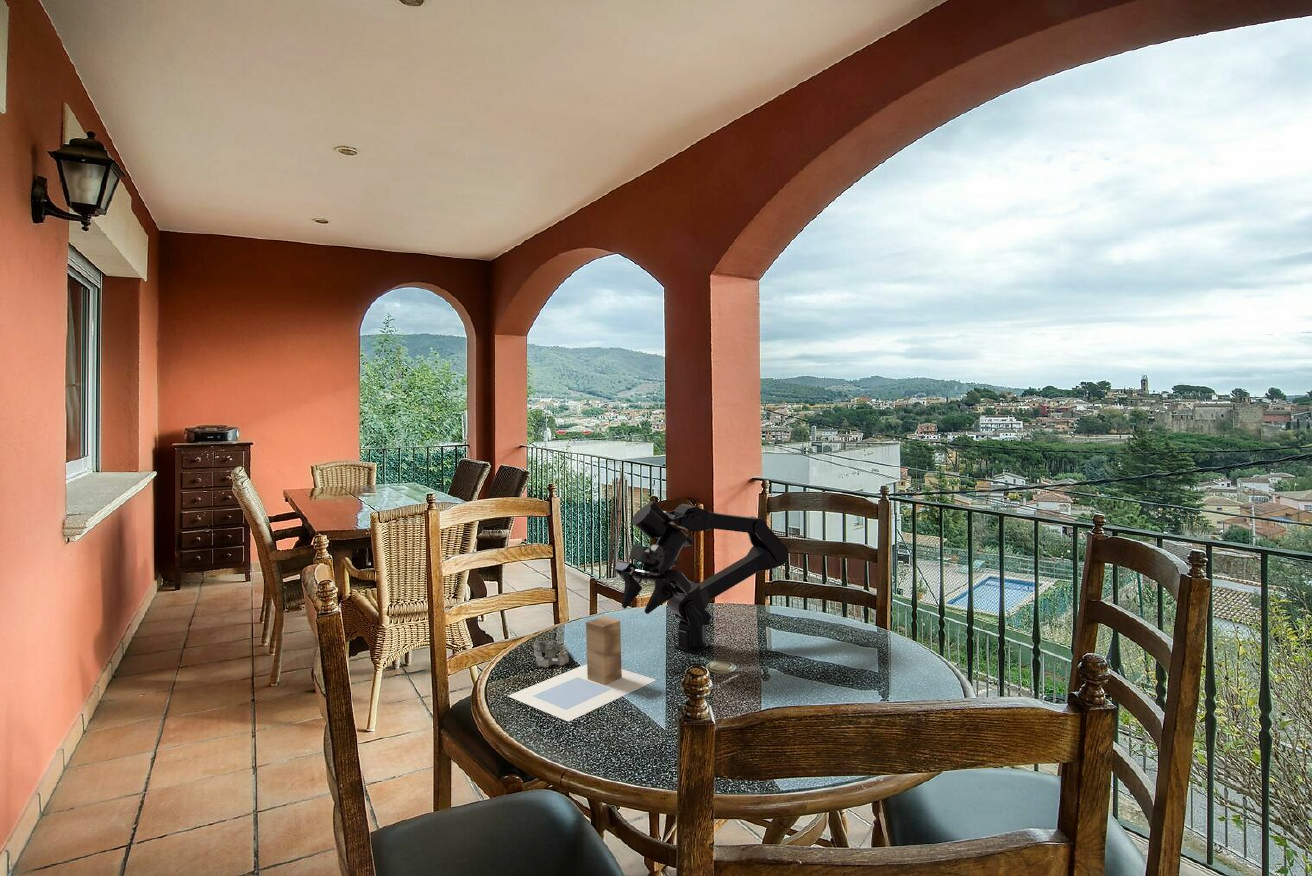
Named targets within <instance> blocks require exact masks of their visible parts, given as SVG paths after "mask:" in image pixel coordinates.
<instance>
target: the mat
mask: <svg viewBox="0 0 1312 876" xmlns="http://www.w3.org/2000/svg"><path fill="white" fill-rule="evenodd" d="M656 681H657V679H654V678H651V677H648V676H645V675H642V674H640V673H637V672H636V673H635V672H633V671H629V670H626V669H623V668H622V678H620V679H618V680H615V681H613V682H611V683H609V684H606V685H602V684H600V683H597V682H594V681H591V680H588V675H587V663H586V664H583V665H581V666H579V667H576V668H573V669H571V670H568V671H566V672H562V673H561V674H558V675H555V676H554V677H551V678H548V679H546V680H544V681H540V682H538V683H536V684H533V685H531V686H529V687H526V688H523V689H521V690H518V691H516V692H513V693H510V694H507V697H508V698H511V699H513V700H516V701H518V702H520V703H523V704H525V705H527V706H530V707H532V708H534V709H537V710H540V711H541V712H544V713H546V714H549V715H552V716H553V717H556V718H559V719H561V720H563V721H566V722H568V723H569V722H571V721H573V720H575V719H578V718H579V717H581V716H584V715H586V714H589V713H590V712H592V711H595V710H596V709H599V708H600V707H603V706H605V705H607V704H609V703H611V702H614V701H616V700H617V699H619V698H622V697H625V696H627V695H628V694H630V693H632V692H634V691H637V690H639V689H641V688H643V687H646V686H647V685H649V684H651V683H654V682H656Z"/></svg>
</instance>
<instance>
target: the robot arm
mask: <svg viewBox="0 0 1312 876" xmlns="http://www.w3.org/2000/svg"><path fill="white" fill-rule="evenodd" d="M631 523H632V525H633V526H634V527H636V528H637V529H638V530H639V531H640V532H641V533H643V535H645V536H646V537H647V538H648V539H649V540H653V539H657V541H656V542H655V544H651V546H645V545H639V544H632V545H631V549H630V553H629V555H628V559H630V560H634V561H637V565H638V566H639V567H640V568H642V569H639V568H638V567H637V566H636V565H635V564H634V562H629V561H625V560H620V561H618V562H617V563H616V566H615V567H614V571H615V573H616V574H618V576H619V577H621V579H622V580H623V581H624V590H623V594H622V595H623V596H622V602H621V603H622V604H621V607H622V609H625V610H626V609H627V607H629V606H630V604H631V603H632V602H633V601H635V598H636V597H637V596H638V594H640V592H641V591H642V590H643V586H642V585H641V582H642V580H644V581H650V582H655V583H654V589H653V591H652V594H651V595H650V597H649V600H648V601H647V603H646V606H645V608H644V613H645V614H647V615H649V614H651V612H653V611H654V610H656V609H657V608H659V607H660V606H661V605H663V604H664V603H665V602H667V607H668V608H669V610H670V611H671V612H672V613H673V614H674V617H675V619H678V620H679V622H678V630H677V640H678V641H677V643H675V644H674V645H673V648H674V649H679V650H683V651H686V652H690V653H694V654H696V653H698V652H701V651H702V650H705V649H707V648H710V647H711V646H712V643H710V642H707V640H706V639H707V638H706V637H707V635H706V633H707V632H706V625H708V626H709V624H710V622H711V618H712V614H710V613H709V612H708V611H707V610H706V609H707V608H708V606H709V604H710V602H711V601H712V600H713V599H714V598H717V597H718V596H720V595H722V594H723V593H725V592H727V591H729V590H730V589H732V588H733V587H735V586H737V585H739V584H740V583H741V582H743V581H746V580H747V579H748V578H750V577H752V576H753V575H755V574H757V573H759V572H764V571H769V570H774V569H777V568H779V567H782V566H784V565H785V564H786V563H787V562H788V559H789V549H788V547H787V545H786V544H785V543H782V541H781V540H780V538H779V536H777V534H775V532H774V531H772V530H771V528H770V527H769V525H768V524H767V522H766V521H765V520H764V519H763V518H760V517H756V516H744V515H743V516H742V515H736V514H735V515H733V514H729V513H728V514H727V513H719V512H712V511H709V510H707V509H704V508H700V507H697V506H694V505H690V504H686V503H681V504H679V505H678V506H677V507H676V508H675V509H674V510H671V511H667V512H665V511H664V510H662V509H661V508H660V507H659V506H658V505H657V503H656V502H654V501H649V502H648V503H647V504H646V505H644V506H643V507H641V508H640V509H639V510H637V511H636V512H635V513H634V515H633V517H632V519H631ZM673 525H674V526H673ZM675 526H676V527H675ZM682 529H683V530H687V531H689V532H693V533H694V532H706V531H709V530H721V531H730V532H731V531H732V532H738V533H739V532H740V533H747V534H748V537H749V541H750V544H751V545H752V547H751V548H750V549H749V551H748V552H747V554H746V555H745V556H744V557H742V558H741V559H739V560H737V561H736V562H734V563H732V564H730V565H729V566H727V567H725V568H724V569H722V570H720V571H718V572H716V573H714V574H713V575H711V576H709V577H707V578H706V579H704V580H703V581H701V582H698V583H696V582H695V581H692V580H689V579H688V578H687V577H686V576H685V574H684V573H683V572H682V571H681V570H675V569H672V568H673V567H675V568H677V567H678V564H679V563H678V561H677V558H678V557H679V555H680V552H681V550H682V548H683V547H685V548H686V547H690V546H691V547H693V546H694V541H693V538H692V534H691V533H687V534H686V533H685V532H684V531H683V530H682Z"/></svg>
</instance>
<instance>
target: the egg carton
mask: <svg viewBox="0 0 1312 876" xmlns="http://www.w3.org/2000/svg"><path fill="white" fill-rule="evenodd" d="M558 651H559V652H558ZM542 653H545V654H544V655H545V657H546V658H548V659H545V657H544V656H543V654H542ZM556 653H560V654H559V655H558V657H556V655H557V654H556ZM568 653H569V648H568V645H566V644H565V642H564V641H563V640H560V641H559V642H557V641H556V640H555V639H554V640H552V641H551V640H542V641H539V640H533V654H534V658H535V657H536V658H535V659H536V660H535V661H536V662H537V666H538V667H543V668H549V666H553V665H558V666H564V665H565V664H568V663H569V660H570V659H569V654H568Z"/></svg>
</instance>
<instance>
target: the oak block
mask: <svg viewBox="0 0 1312 876" xmlns="http://www.w3.org/2000/svg"><path fill="white" fill-rule="evenodd" d="M585 630H586V631H585V633H586V664H587V675H588V680H591V681H594V682H597V683H600V684H602V685H606V684H609V683H611V682H613V681H615V680H618V679H620V678H622V669H623V668H622V639H621V638H622V637H621V636H622V634H621V633H622V632H621V620H619V619H616V618H611V617H607V616H604V615H603V616H601V617H597V618H595V619H592V620H589V621H586V622H585Z"/></svg>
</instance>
